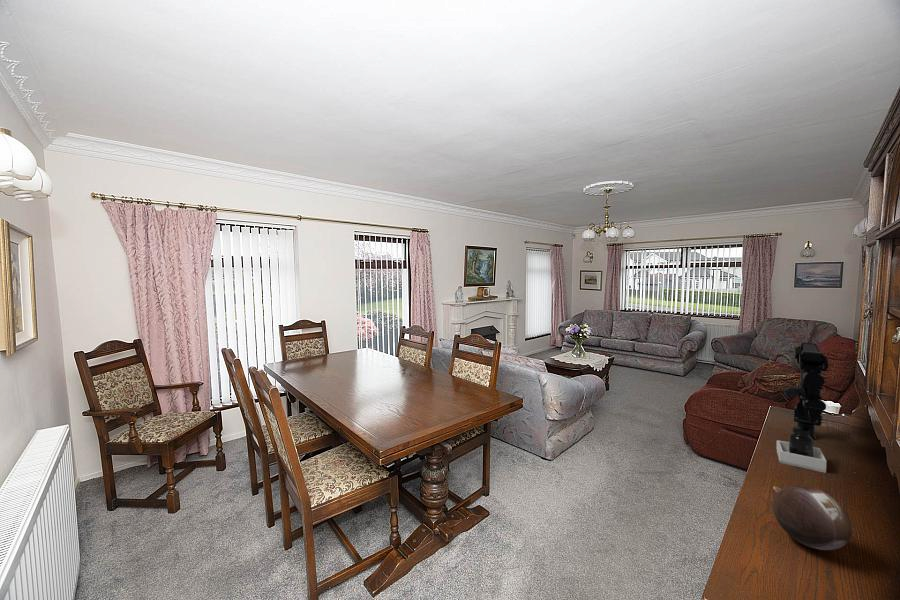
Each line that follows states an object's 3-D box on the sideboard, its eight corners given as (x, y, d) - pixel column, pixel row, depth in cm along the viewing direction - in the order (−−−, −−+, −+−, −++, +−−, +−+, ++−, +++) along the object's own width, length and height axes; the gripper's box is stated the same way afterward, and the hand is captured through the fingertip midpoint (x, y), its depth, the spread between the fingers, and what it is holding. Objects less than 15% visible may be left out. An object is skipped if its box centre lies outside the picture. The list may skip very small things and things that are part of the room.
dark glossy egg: (825, 570, 88) (828, 511, 88) (759, 530, 103) (760, 479, 102) (865, 557, 92) (868, 500, 92) (796, 520, 107) (797, 471, 106)
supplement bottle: (809, 457, 142) (810, 427, 142) (815, 464, 137) (817, 433, 136) (786, 452, 146) (787, 423, 145) (791, 460, 140) (792, 429, 139)
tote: (776, 450, 150) (776, 440, 150) (819, 459, 142) (819, 448, 142) (779, 462, 140) (780, 451, 140) (825, 472, 132) (826, 461, 132)
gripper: (782, 374, 161) (781, 409, 162) (787, 383, 147) (786, 421, 147) (817, 378, 155) (816, 414, 155) (827, 388, 140) (825, 428, 140)
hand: (810, 419), depth 150 cm, fingers open, 9 cm apart
